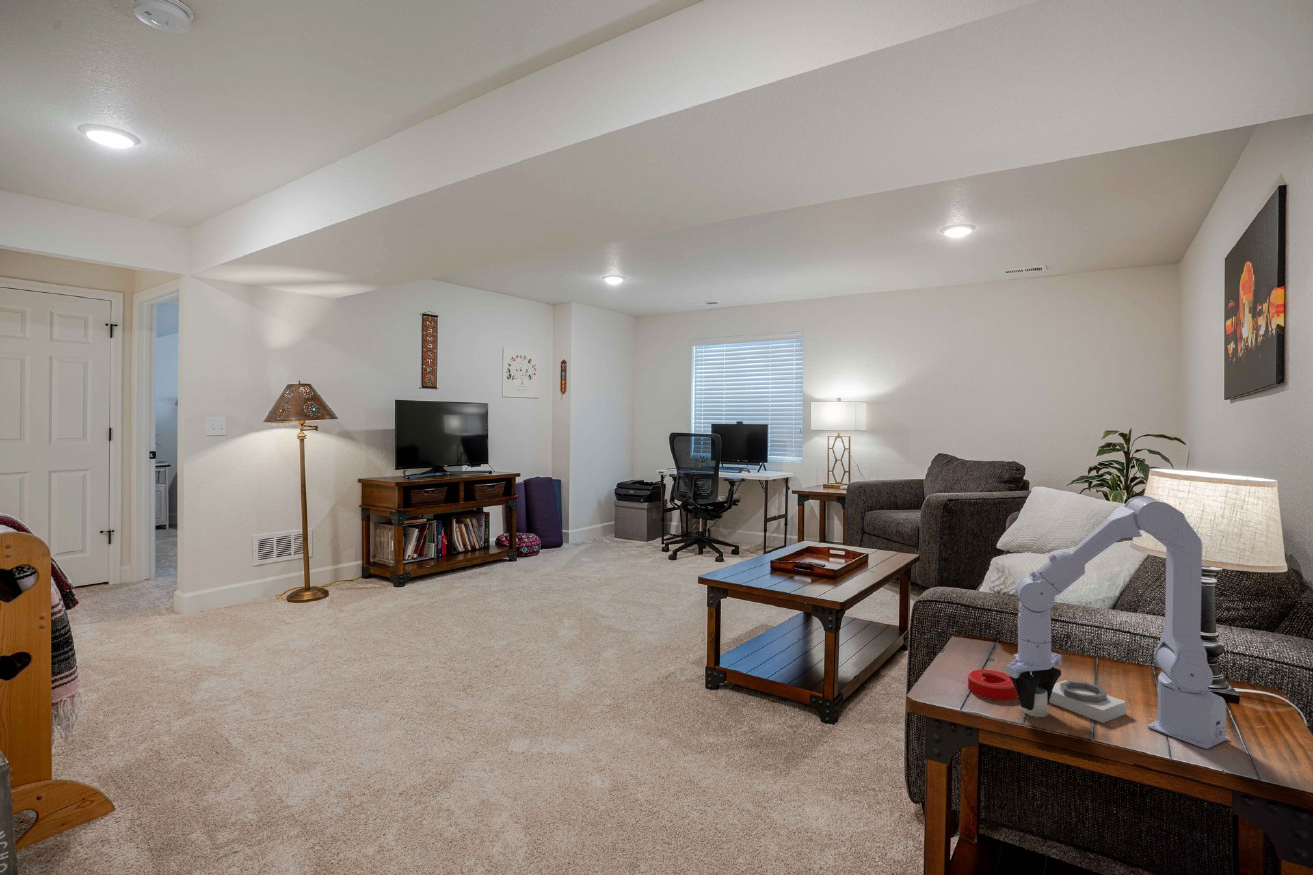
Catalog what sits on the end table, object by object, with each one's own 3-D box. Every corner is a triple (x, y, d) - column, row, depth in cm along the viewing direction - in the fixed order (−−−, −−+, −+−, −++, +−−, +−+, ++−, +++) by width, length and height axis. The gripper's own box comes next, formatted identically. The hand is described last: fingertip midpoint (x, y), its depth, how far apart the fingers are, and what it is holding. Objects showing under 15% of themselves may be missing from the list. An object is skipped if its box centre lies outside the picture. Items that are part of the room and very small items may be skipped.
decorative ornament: (1027, 700, 136) (1027, 685, 136) (983, 702, 135) (983, 687, 135) (1001, 681, 146) (1001, 667, 145) (959, 683, 145) (959, 669, 145)
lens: (1052, 714, 129) (1052, 689, 129) (1038, 719, 127) (1038, 694, 127) (1031, 705, 133) (1030, 681, 133) (1017, 710, 131) (1017, 686, 131)
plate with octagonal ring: (1126, 713, 128) (1126, 695, 128) (1102, 722, 125) (1102, 704, 125) (1065, 691, 139) (1065, 674, 139) (1041, 699, 136) (1041, 681, 136)
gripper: (1037, 627, 136) (1038, 690, 137) (992, 638, 130) (992, 705, 130) (1072, 636, 130) (1072, 703, 130) (1025, 649, 123) (1025, 719, 124)
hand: (1034, 705), depth 130 cm, fingers closed on lens, 4 cm apart
